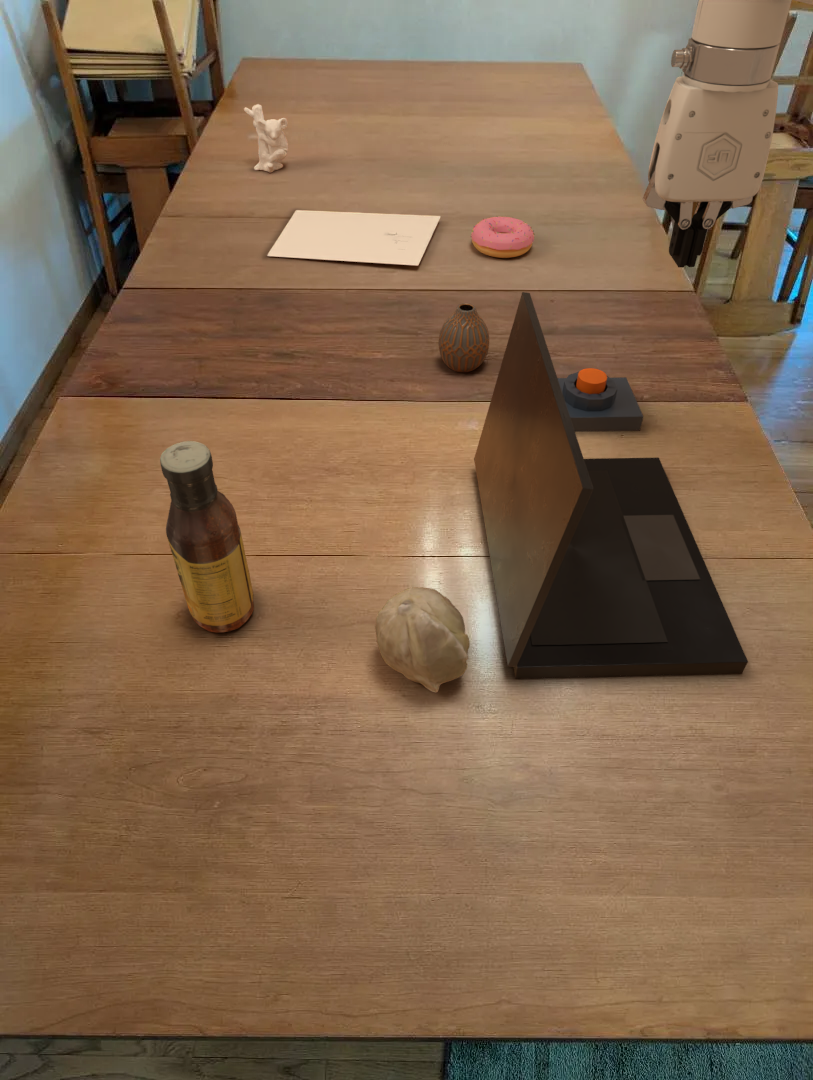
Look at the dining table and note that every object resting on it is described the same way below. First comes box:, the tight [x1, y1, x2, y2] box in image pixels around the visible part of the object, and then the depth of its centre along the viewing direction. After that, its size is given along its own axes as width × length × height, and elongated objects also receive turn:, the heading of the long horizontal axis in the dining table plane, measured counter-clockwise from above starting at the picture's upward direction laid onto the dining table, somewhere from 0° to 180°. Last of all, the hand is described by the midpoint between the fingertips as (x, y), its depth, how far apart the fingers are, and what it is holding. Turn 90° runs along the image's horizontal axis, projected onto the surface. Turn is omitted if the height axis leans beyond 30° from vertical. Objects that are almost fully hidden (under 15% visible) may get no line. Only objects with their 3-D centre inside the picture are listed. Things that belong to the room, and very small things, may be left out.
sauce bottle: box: [159, 440, 255, 633], centre depth 70 cm, size 6×6×20 cm
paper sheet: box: [266, 209, 442, 266], centre depth 141 cm, size 24×29×1 cm
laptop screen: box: [473, 291, 593, 668], centre depth 74 cm, size 21×30×1 cm
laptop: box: [512, 457, 749, 680], centre depth 83 cm, size 21×30×2 cm
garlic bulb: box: [374, 586, 471, 693], centre depth 70 cm, size 9×8×10 cm
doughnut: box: [470, 215, 535, 259], centre depth 137 cm, size 11×11×4 cm
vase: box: [438, 302, 490, 373], centre depth 108 cm, size 7×7×9 cm
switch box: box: [557, 370, 644, 433], centre depth 102 cm, size 12×9×4 cm
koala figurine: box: [243, 103, 289, 173], centre depth 161 cm, size 8×7×12 cm
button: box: [576, 367, 608, 394], centre depth 100 cm, size 4×4×2 cm
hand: (682, 261), depth 84 cm, fingers closed
